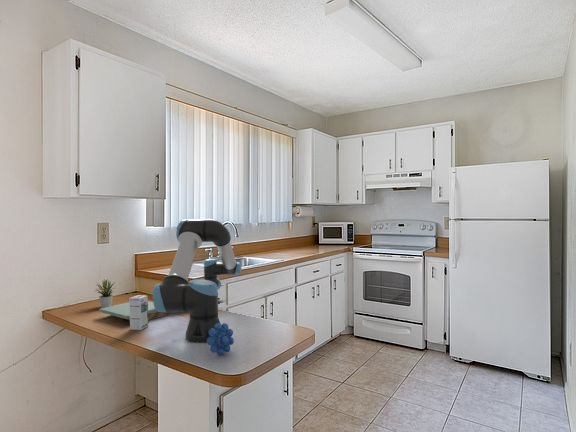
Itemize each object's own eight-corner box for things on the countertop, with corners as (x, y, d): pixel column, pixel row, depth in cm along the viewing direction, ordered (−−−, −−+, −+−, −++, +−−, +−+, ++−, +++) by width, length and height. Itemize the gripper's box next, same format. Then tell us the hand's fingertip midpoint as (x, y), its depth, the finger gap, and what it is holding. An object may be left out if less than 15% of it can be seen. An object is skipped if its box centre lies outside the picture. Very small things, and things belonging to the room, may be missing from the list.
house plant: (88, 306, 208) (88, 277, 208) (114, 302, 217) (114, 275, 217) (93, 311, 197) (92, 281, 197) (120, 307, 205) (120, 278, 205)
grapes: (215, 363, 124) (214, 328, 124) (203, 358, 129) (203, 324, 129) (241, 353, 133) (240, 320, 133) (229, 349, 137) (228, 317, 137)
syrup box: (141, 330, 162) (140, 297, 162) (129, 329, 164) (129, 297, 164) (148, 326, 168) (148, 295, 168) (137, 325, 169) (136, 294, 169)
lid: (138, 302, 202) (138, 287, 201) (167, 308, 187) (166, 292, 187) (99, 311, 183) (98, 295, 183) (127, 319, 169) (127, 301, 169)
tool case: (148, 306, 206) (148, 301, 206) (176, 312, 192) (175, 306, 192) (111, 315, 188) (111, 309, 188) (138, 322, 174) (138, 316, 174)
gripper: (206, 296, 205) (171, 304, 185) (190, 293, 212) (155, 301, 193) (205, 282, 205) (170, 290, 185) (190, 280, 212) (155, 287, 193)
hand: (163, 296), depth 189 cm, fingers closed
